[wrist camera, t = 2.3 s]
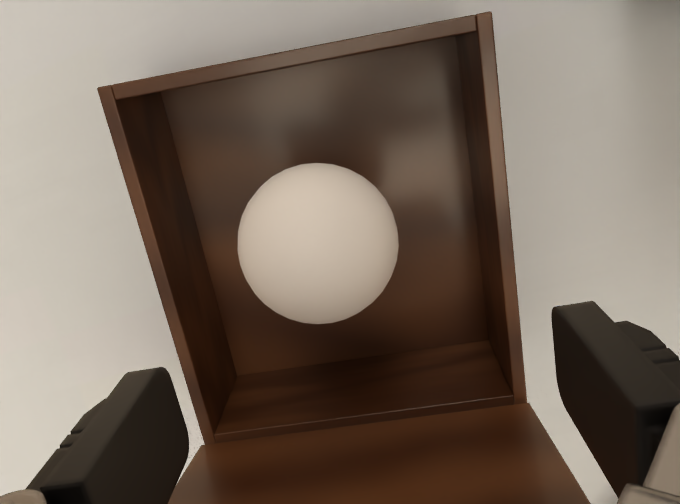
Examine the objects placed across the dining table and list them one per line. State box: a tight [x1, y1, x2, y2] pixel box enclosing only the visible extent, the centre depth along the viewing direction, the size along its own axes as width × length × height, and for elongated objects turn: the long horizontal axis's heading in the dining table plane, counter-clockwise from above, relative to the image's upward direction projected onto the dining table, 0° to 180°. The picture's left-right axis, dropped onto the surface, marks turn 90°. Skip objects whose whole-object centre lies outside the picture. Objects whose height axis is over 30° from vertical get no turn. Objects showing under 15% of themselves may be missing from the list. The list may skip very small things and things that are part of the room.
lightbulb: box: [238, 163, 399, 324], centre depth 24 cm, size 6×6×11 cm
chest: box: [97, 12, 527, 445], centre depth 28 cm, size 17×16×6 cm
